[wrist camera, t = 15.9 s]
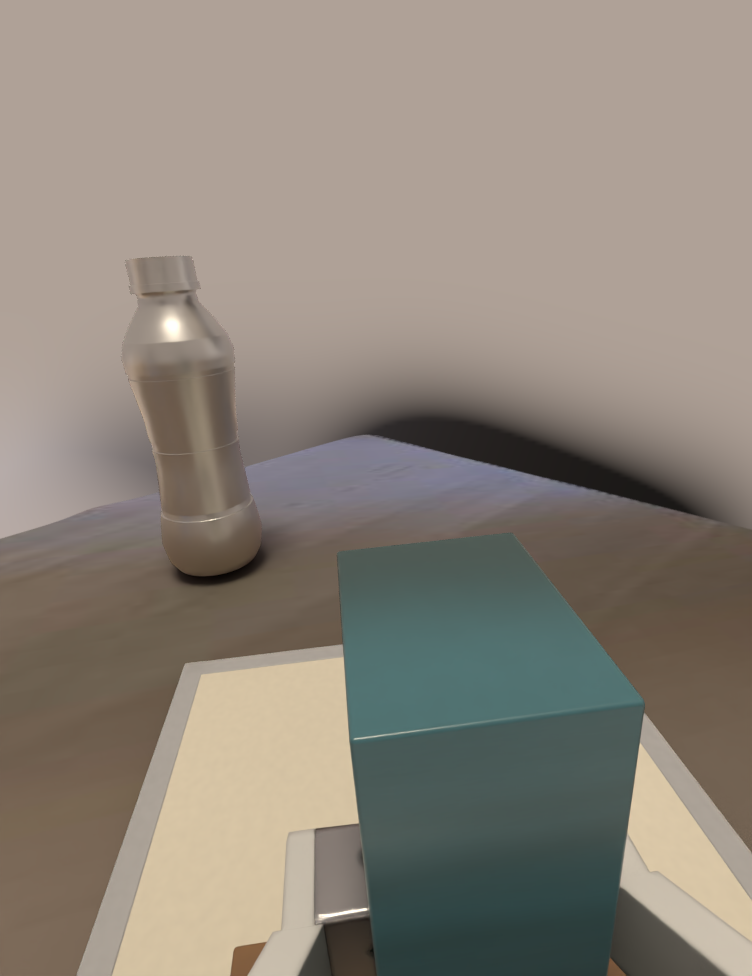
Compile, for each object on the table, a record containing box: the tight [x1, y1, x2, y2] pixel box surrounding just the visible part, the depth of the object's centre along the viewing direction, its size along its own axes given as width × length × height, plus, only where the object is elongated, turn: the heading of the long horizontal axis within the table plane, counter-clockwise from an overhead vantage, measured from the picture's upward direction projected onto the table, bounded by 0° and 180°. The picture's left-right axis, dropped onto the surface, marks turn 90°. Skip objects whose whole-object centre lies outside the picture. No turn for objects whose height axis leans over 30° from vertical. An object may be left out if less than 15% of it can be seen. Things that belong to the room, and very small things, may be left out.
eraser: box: [230, 533, 645, 976], centre depth 9 cm, size 5×10×13 cm, turn 96°
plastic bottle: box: [122, 256, 262, 576], centre depth 34 cm, size 6×7×20 cm
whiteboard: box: [76, 644, 752, 976], centre depth 17 cm, size 23×20×1 cm
